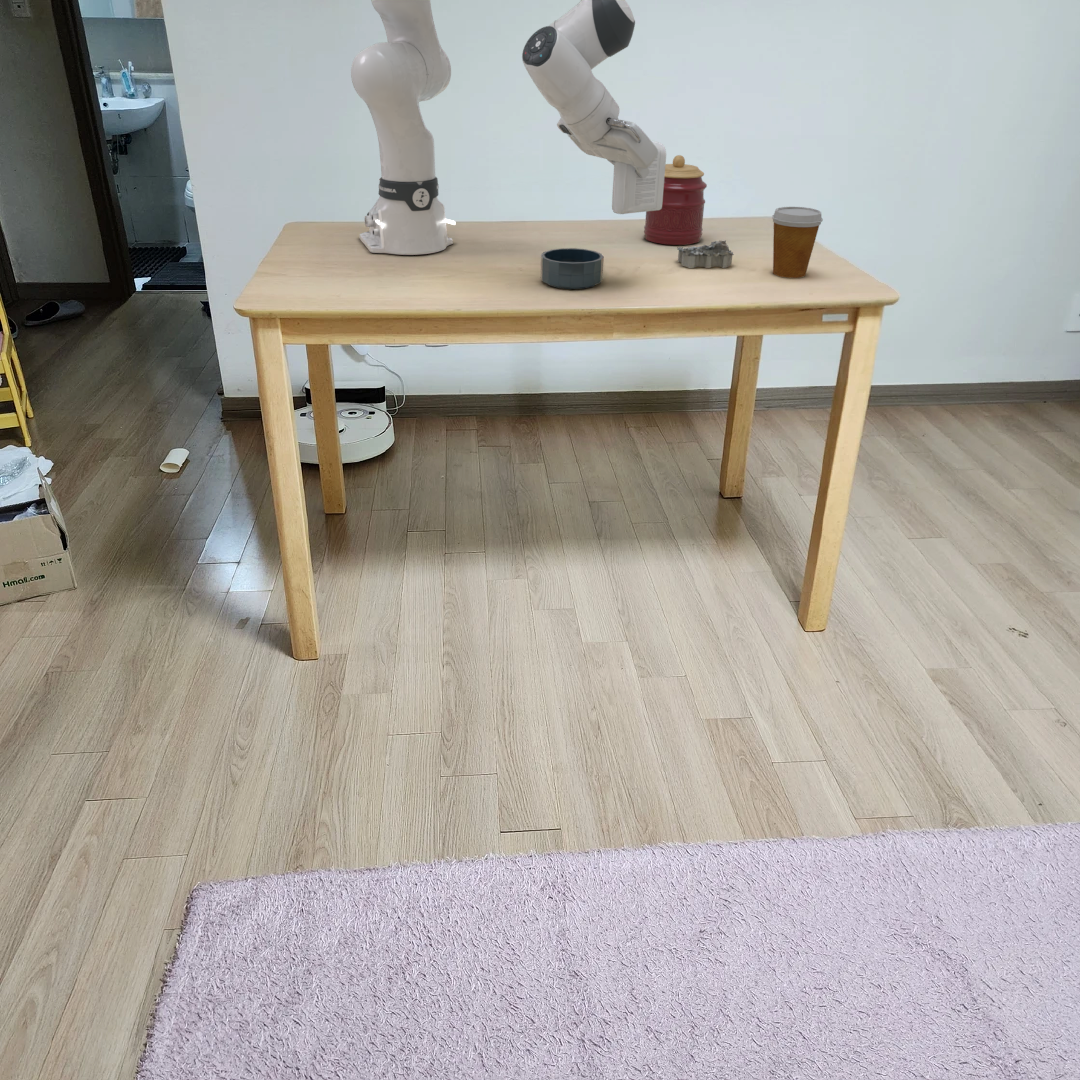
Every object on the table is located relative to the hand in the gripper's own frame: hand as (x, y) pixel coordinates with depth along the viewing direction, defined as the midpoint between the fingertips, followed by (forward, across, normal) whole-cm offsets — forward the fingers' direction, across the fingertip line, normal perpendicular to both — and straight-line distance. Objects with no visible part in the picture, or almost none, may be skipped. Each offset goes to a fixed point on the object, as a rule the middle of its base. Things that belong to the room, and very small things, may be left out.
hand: (635, 172), depth 170 cm
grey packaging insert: (+28, +2, -1) cm, 28 cm away
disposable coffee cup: (+35, -12, -8) cm, 38 cm away
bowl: (+6, +3, +22) cm, 23 cm away
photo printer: (+6, 0, +4) cm, 7 cm away
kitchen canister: (+34, +23, -6) cm, 42 cm away
